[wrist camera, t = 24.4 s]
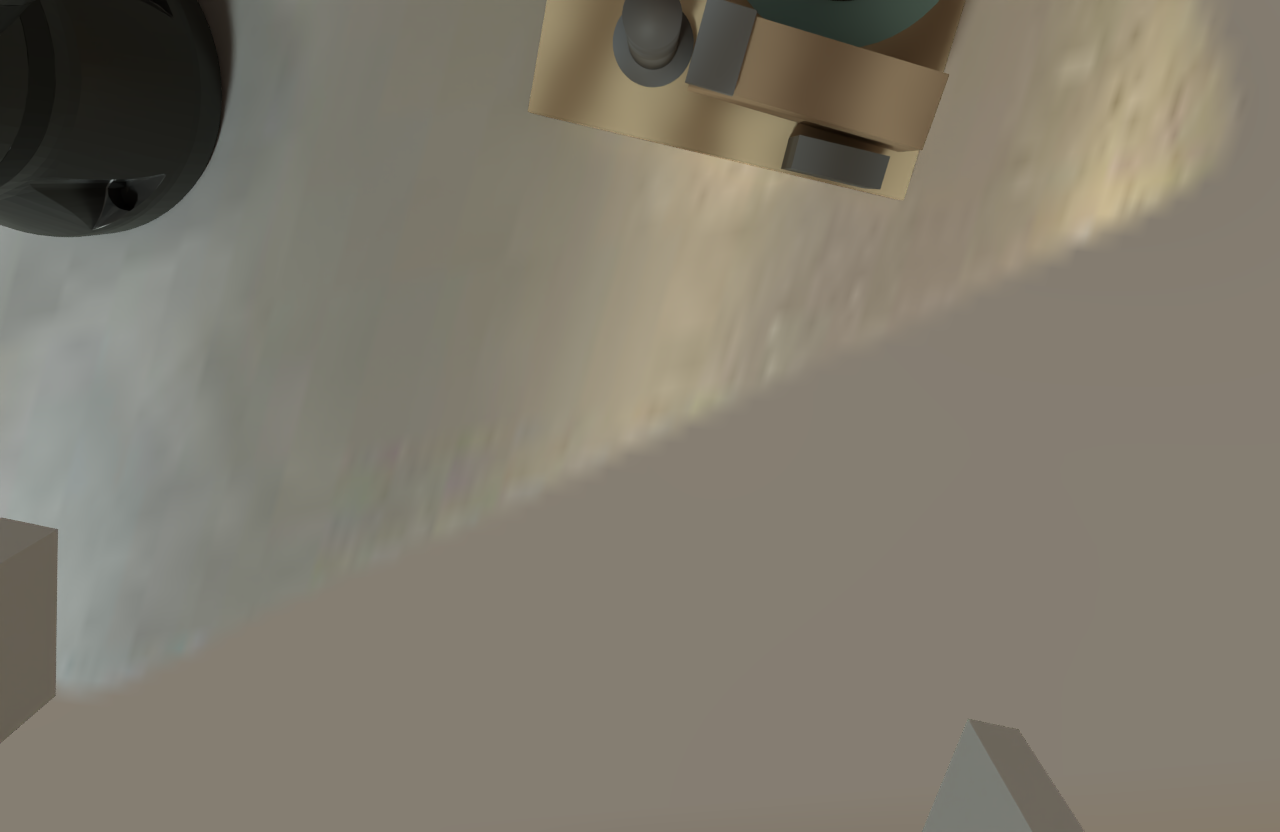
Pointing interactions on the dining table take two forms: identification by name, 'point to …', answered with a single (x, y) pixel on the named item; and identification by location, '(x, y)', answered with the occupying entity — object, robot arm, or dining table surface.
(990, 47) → the dining table surface
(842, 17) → the felt pad
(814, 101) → the leg bar
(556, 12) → the oak board
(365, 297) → the dining table surface
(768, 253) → the dining table surface
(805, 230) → the dining table surface
